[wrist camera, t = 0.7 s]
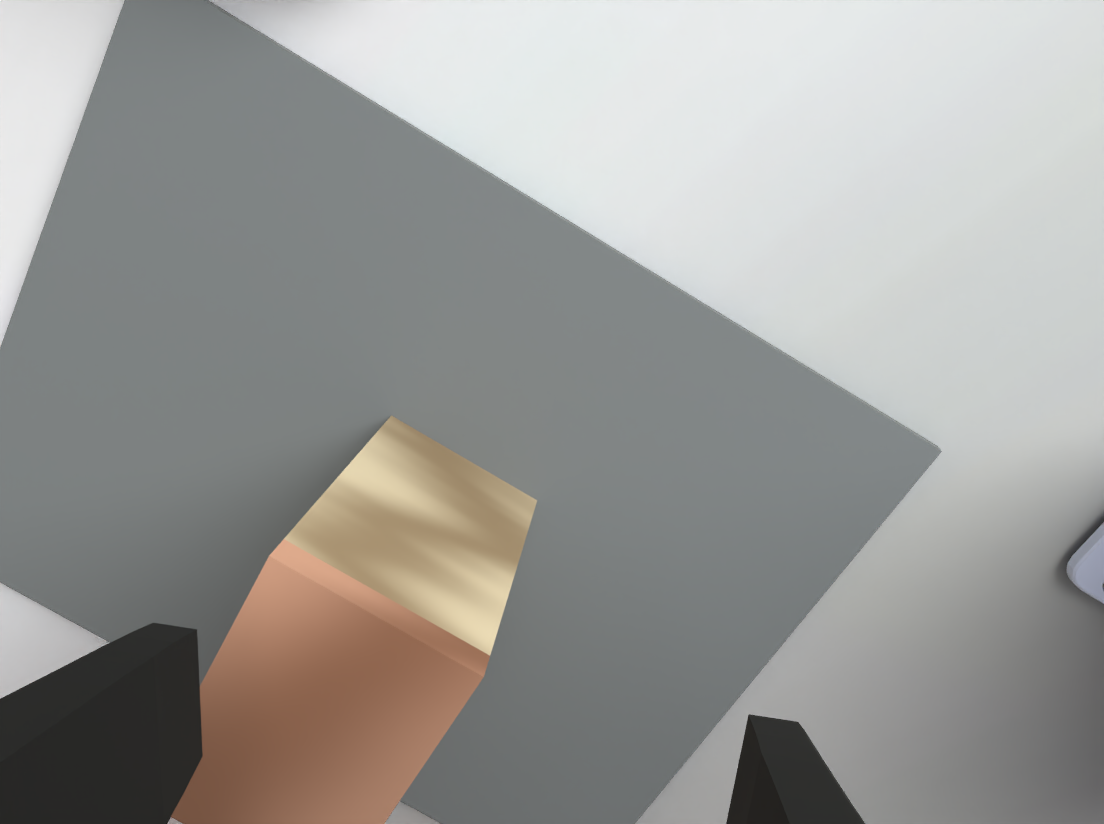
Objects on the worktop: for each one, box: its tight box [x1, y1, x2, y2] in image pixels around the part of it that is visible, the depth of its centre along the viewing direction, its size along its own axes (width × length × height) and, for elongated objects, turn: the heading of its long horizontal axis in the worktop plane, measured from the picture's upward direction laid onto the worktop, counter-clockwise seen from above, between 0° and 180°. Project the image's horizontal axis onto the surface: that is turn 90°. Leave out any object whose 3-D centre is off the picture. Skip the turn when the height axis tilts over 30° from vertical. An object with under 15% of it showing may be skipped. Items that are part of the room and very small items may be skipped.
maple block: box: [171, 416, 537, 824], centre depth 19 cm, size 4×6×7 cm, turn 150°
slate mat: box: [0, 0, 942, 824], centre depth 22 cm, size 20×16×1 cm
